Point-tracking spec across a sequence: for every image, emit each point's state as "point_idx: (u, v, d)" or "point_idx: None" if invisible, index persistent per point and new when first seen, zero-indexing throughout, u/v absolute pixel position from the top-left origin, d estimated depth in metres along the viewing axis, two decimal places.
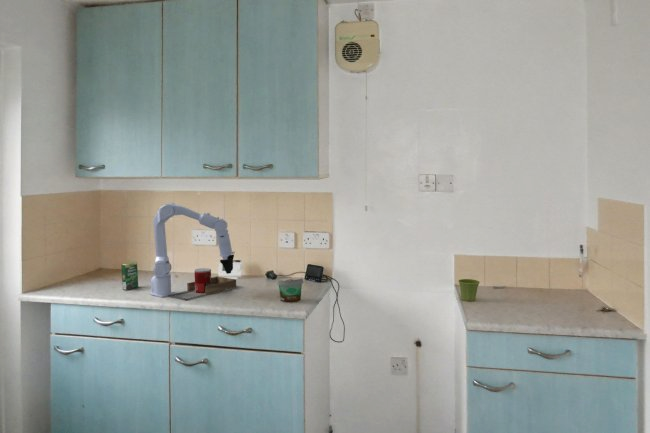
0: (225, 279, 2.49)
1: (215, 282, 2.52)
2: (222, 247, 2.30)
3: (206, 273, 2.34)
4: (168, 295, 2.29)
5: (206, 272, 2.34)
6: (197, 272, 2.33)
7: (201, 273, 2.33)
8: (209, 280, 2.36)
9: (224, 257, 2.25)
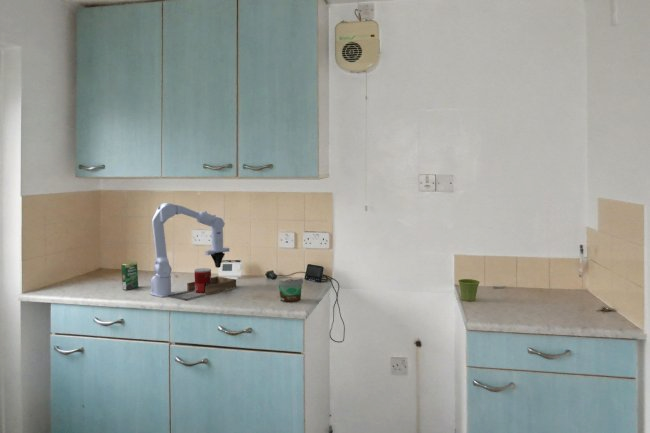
0: (225, 279, 2.49)
1: (215, 282, 2.52)
2: (212, 243, 2.42)
3: (206, 273, 2.34)
4: (168, 295, 2.29)
5: (206, 272, 2.34)
6: (197, 272, 2.33)
7: (201, 273, 2.33)
8: (209, 280, 2.36)
9: (206, 252, 2.38)
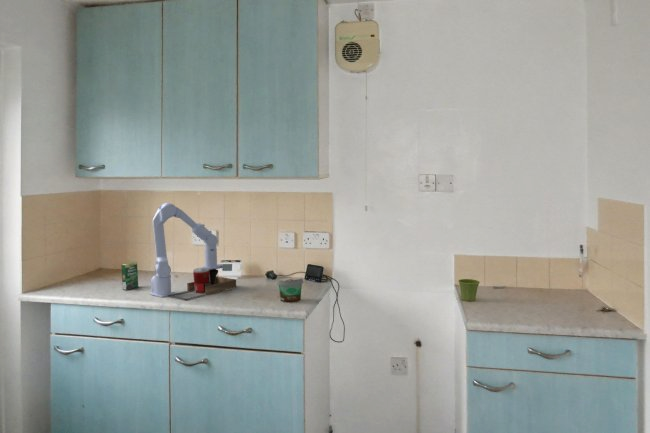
0: (225, 279, 2.49)
1: (215, 282, 2.52)
2: (205, 260, 2.39)
3: (205, 273, 2.33)
4: (168, 295, 2.29)
5: (205, 272, 2.33)
6: (196, 272, 2.33)
7: (199, 274, 2.32)
8: (208, 280, 2.35)
9: None
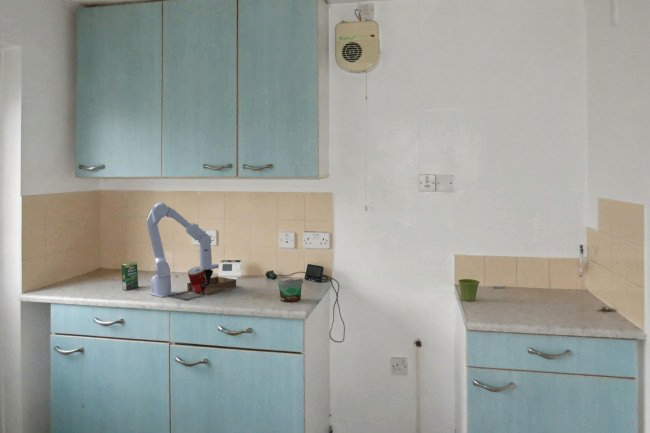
0: (225, 279, 2.49)
1: (215, 282, 2.52)
2: (200, 260, 2.36)
3: (199, 274, 2.30)
4: (168, 295, 2.29)
5: (199, 273, 2.30)
6: (190, 274, 2.30)
7: (194, 275, 2.30)
8: (204, 279, 2.33)
9: None
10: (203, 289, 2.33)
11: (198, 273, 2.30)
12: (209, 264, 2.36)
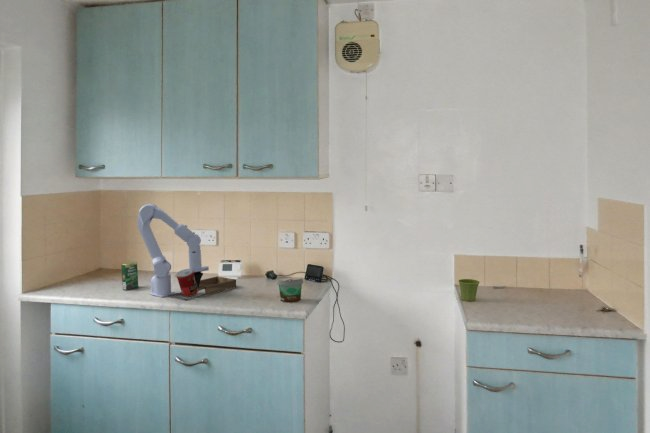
0: (225, 279, 2.49)
1: (215, 282, 2.52)
2: (189, 262, 2.31)
3: (188, 276, 2.25)
4: (168, 295, 2.29)
5: (188, 275, 2.25)
6: (179, 277, 2.25)
7: (183, 278, 2.24)
8: (193, 282, 2.27)
9: (183, 273, 2.27)
10: (192, 292, 2.27)
11: (187, 275, 2.24)
12: (199, 266, 2.31)
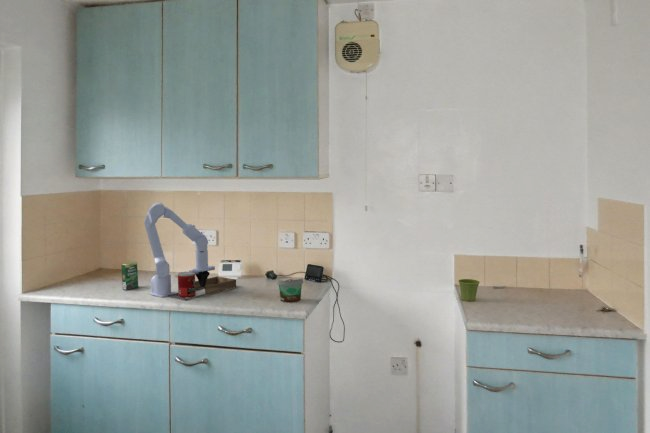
0: (225, 279, 2.49)
1: (215, 282, 2.52)
2: (196, 262, 2.34)
3: (189, 277, 2.25)
4: (168, 295, 2.29)
5: (189, 276, 2.25)
6: (180, 276, 2.25)
7: (184, 277, 2.25)
8: (193, 284, 2.27)
9: (190, 272, 2.31)
10: (189, 294, 2.26)
11: (188, 276, 2.25)
12: (205, 266, 2.34)
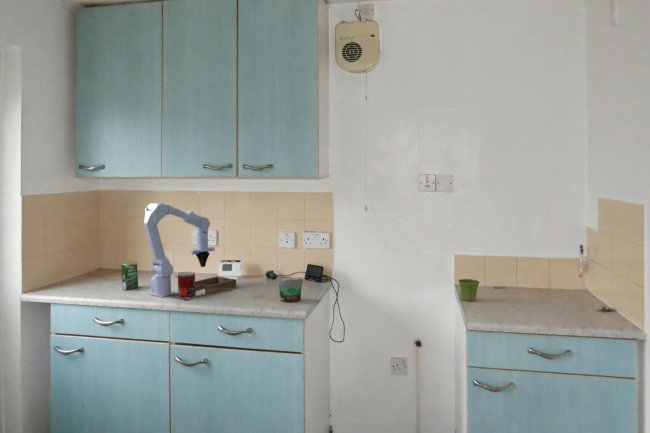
0: (225, 279, 2.49)
1: (215, 282, 2.52)
2: (197, 242, 2.44)
3: (189, 277, 2.25)
4: (168, 295, 2.29)
5: (189, 276, 2.25)
6: (180, 276, 2.25)
7: (184, 277, 2.25)
8: (193, 284, 2.27)
9: (190, 252, 2.40)
10: (189, 294, 2.26)
11: (188, 276, 2.25)
12: (205, 246, 2.44)
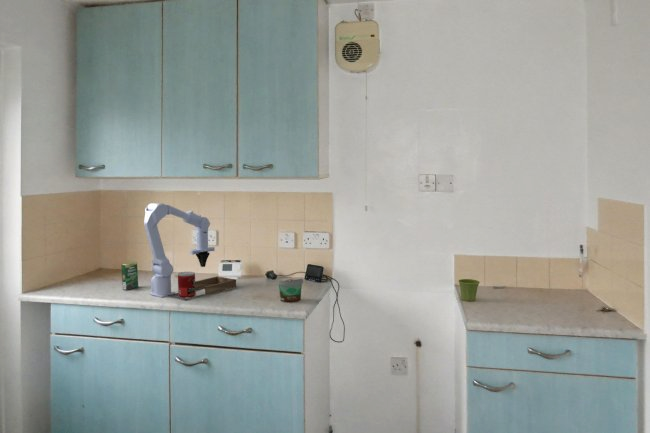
0: (225, 279, 2.49)
1: (215, 282, 2.52)
2: (197, 242, 2.44)
3: (189, 277, 2.25)
4: (168, 295, 2.29)
5: (189, 276, 2.25)
6: (180, 276, 2.25)
7: (184, 277, 2.25)
8: (193, 284, 2.27)
9: (190, 252, 2.40)
10: (189, 294, 2.26)
11: (188, 276, 2.25)
12: (205, 246, 2.44)
